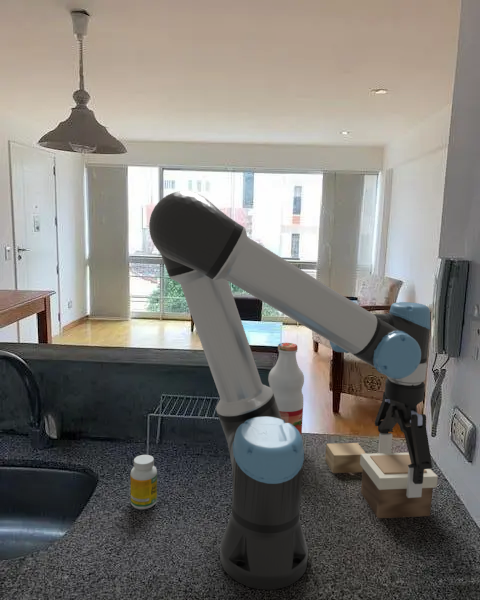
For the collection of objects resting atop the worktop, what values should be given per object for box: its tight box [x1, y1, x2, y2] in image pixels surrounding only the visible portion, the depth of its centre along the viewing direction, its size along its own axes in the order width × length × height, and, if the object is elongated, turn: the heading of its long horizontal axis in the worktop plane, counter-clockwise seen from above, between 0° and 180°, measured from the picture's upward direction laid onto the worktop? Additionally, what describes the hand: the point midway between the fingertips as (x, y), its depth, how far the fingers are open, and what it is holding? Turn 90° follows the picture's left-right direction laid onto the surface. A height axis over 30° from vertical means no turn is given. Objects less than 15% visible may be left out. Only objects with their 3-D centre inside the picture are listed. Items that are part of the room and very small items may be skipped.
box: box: [360, 469, 434, 519], centre depth 97 cm, size 11×9×7 cm
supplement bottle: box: [129, 454, 158, 510], centre depth 95 cm, size 5×5×10 cm
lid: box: [360, 452, 439, 490], centre depth 96 cm, size 12×10×3 cm
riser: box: [324, 442, 367, 474], centre depth 112 cm, size 8×6×5 cm
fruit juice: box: [267, 342, 305, 437], centre depth 119 cm, size 9×9×28 cm
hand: (397, 478), depth 96 cm, fingers open, 13 cm apart
